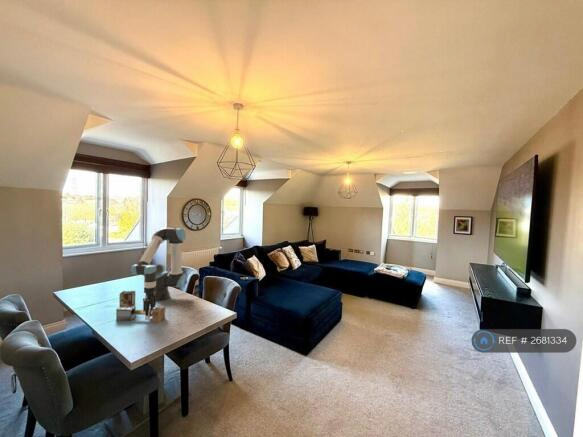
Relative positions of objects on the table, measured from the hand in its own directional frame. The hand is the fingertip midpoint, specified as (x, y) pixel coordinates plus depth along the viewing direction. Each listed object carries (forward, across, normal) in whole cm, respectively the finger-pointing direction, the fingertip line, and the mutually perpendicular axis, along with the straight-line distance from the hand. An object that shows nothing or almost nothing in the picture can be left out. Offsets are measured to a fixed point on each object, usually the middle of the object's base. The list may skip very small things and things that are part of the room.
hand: (149, 317), depth 178 cm
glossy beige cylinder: (-2, 0, -2) cm, 3 cm away
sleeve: (+2, 0, -17) cm, 17 cm away
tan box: (+2, 0, +7) cm, 7 cm away
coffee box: (+2, -11, -23) cm, 26 cm away
